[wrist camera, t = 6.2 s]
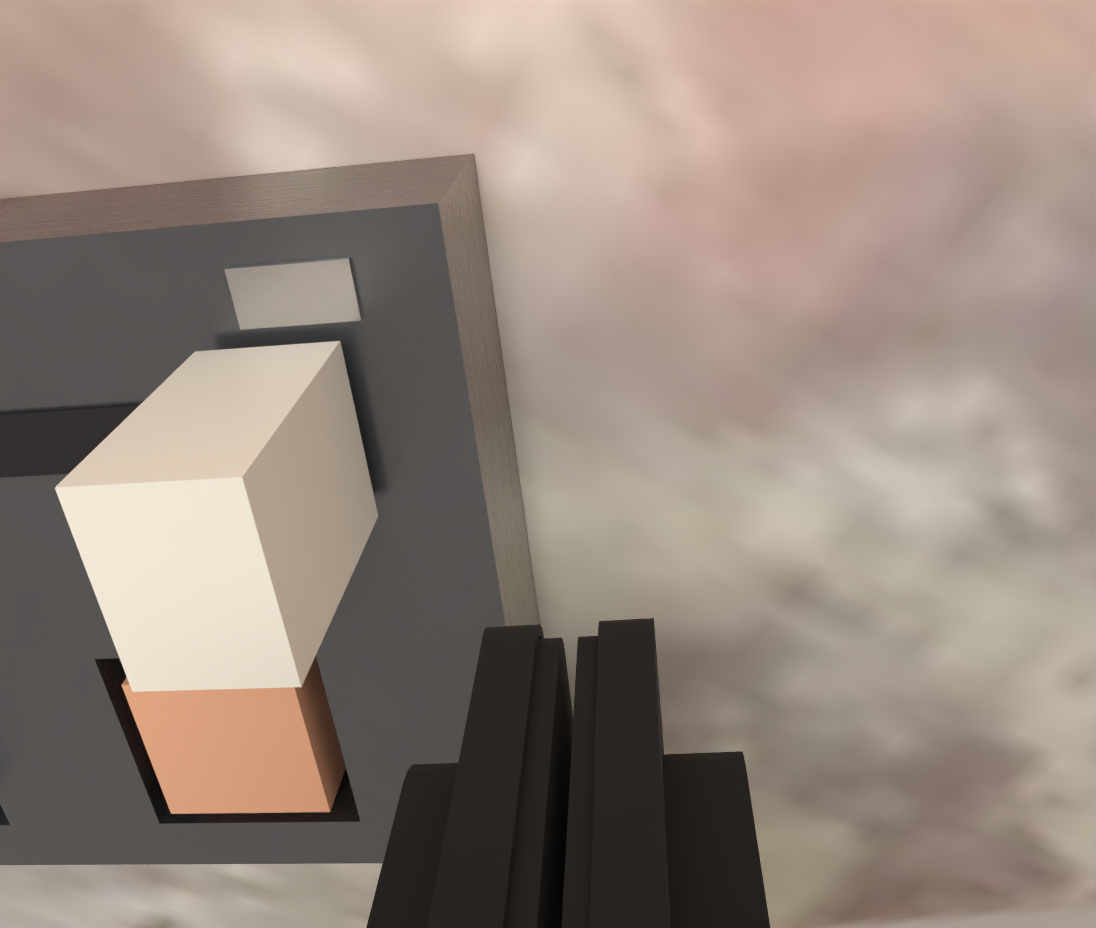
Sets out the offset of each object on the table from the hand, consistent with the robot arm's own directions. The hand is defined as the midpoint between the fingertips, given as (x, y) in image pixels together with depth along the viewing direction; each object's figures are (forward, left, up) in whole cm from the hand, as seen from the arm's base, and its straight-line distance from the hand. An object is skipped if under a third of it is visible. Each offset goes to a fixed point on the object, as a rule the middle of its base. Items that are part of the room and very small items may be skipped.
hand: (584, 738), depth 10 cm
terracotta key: (+8, +7, -10) cm, 14 cm away
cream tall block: (+5, 0, -7) cm, 9 cm away
